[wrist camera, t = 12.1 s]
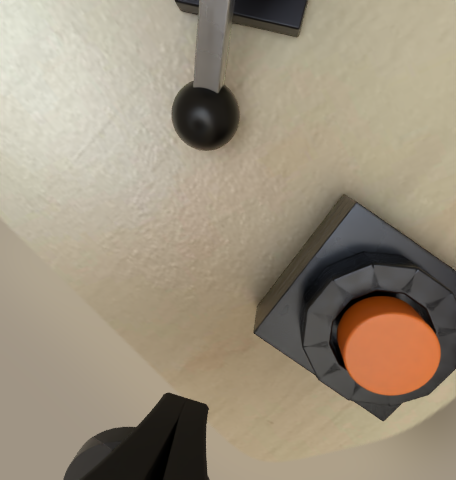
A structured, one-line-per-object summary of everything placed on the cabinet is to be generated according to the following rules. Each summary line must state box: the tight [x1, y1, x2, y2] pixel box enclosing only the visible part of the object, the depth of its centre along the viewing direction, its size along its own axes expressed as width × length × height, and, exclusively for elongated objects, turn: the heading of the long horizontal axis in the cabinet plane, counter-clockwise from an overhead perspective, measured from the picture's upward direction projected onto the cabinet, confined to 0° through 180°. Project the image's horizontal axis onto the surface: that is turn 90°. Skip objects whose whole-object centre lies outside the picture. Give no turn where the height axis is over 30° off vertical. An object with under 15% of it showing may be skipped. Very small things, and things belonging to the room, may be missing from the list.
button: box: [337, 296, 441, 396], centre depth 15 cm, size 4×4×2 cm
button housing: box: [254, 195, 456, 421], centre depth 18 cm, size 8×8×5 cm
